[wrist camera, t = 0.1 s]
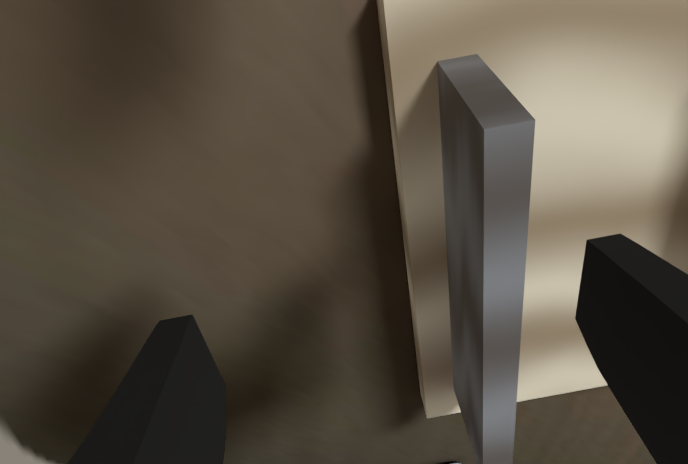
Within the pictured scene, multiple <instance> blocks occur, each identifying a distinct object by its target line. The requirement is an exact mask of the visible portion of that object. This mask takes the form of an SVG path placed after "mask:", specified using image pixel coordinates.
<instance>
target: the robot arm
mask: <svg viewBox="0 0 688 464" xmlns="http://www.w3.org/2000/svg"><path fill="white" fill-rule="evenodd" d="M575 320H576V322H577V324H578V326H579V329H580V331H581V333H582V335H583V338H584V340H585V342H586V345H587V347H588V349H589V351H590V353H591V355H592V357H593V359H594V361H595V364H596V366H597V368H598V369H599V371H600V373H601V374H602V376H603V378H604V379H605V381H606V383H607V384H608V386H609V388H610V389H611V391H612V393H613V394H614V396H615V397H616V399H617V401H618V402H619V404H620V406H621V407H622V409H623V410H624V412H625V414H626V415H627V417H628V418H629V420H630V422H631V423H632V425H633V426H634V428H635V429H636V431H637V433H638V434H639V436H640V437H641V439H642V441H643V442H644V444H645V445H646V447H647V449H648V450H649V452H650V453H651V455H652V457H653V458H654V460H655V461H656V463H657V464H688V274H686V273H685V272H683V271H682V270H680V269H678V268H677V267H675V266H673V265H672V264H670V263H669V262H667V261H665V260H664V259H662V258H661V257H659V256H657V255H656V254H654V253H652V252H651V251H649V250H648V249H646V248H644V247H643V246H641V245H639V244H638V243H636V242H634V241H633V240H631V239H629V238H627V237H626V236H624V235H622V234H621V233H620V234H615V235H609V236H604V237H599V238H594V239H588V240H587V241H586V247H585V254H584V261H583V268H582V275H581V282H580V288H579V295H578V302H577V309H576V316H575ZM225 439H226V400H225V383H224V381H223V379H222V376H221V374H220V372H219V370H218V368H217V366H216V364H215V362H214V359H213V357H212V355H211V353H210V351H209V349H208V347H207V345H206V342H205V340H204V338H203V336H202V334H201V332H200V330H199V328H198V325H197V323H196V321H195V319H194V317H193V315H188V316H182V317H177V318H172V319H166V320H161V321H159V322H158V324H157V325H156V327H155V328H154V330H153V331H152V333H151V335H150V336H149V338H148V339H147V341H146V343H145V344H144V346H143V348H142V349H141V351H140V353H139V354H138V356H137V357H136V359H135V361H134V362H133V364H132V366H131V367H130V369H129V371H128V372H127V374H126V375H125V377H124V379H123V380H122V382H121V384H120V385H119V387H118V388H117V390H116V392H115V393H114V395H113V396H112V398H111V399H110V401H109V402H108V404H107V406H106V407H105V409H104V410H103V412H102V413H101V415H100V416H99V418H98V420H97V421H96V423H95V424H94V426H93V427H92V429H91V430H90V432H89V433H88V435H87V436H86V438H85V439H84V441H83V442H82V444H81V445H80V446H79V448H78V449H77V451H76V452H75V454H74V455H73V456H72V458H71V459H70V461H69V462H68V464H223V459H224V450H225ZM451 464H460V463H451Z"/></svg>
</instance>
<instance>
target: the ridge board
mask: <svg viewBox="0 0 688 464" xmlns="http://www.w3.org/2000/svg"><path fill="white" fill-rule="evenodd" d="M377 8H378V17H379V26H380V35H381V44H382V53H383V62H384V71H385V80H386V89H387V97H388V106H389V115H390V124H391V133H392V142H393V151H394V160H395V169H396V178H397V187H398V196H399V205H400V214H401V223H402V232H403V241H404V250H405V259H406V268H407V277H408V286H409V294H410V303H411V312H412V321H413V330H414V339H415V348H416V357H417V366H418V375H419V384H420V393H421V397H422V401H423V405H424V409H425V412H426V416H427V418H432V417H438V416H443V415H449V414H454V413H459V412H461V414H462V417H463V420H464V423H465V426H466V429H467V432H468V435H469V439H470V442H471V445H472V448H473V451H474V454H475V457H476V460H477V463H478V464H512V463H513V448H514V433H515V418H516V403H517V402H519V401H525V400H530V399H535V398H541V397H546V396H552V395H557V394H562V393H568V392H573V391H579V390H584V389H590V388H595V387H600V386H606V385H608V384H607V383H606V381H605V379H604V378H603V376H602V374H601V373H600V371H599V369H598V368H597V366H596V364H595V361H594V359H593V357H592V355H591V353H590V351H589V349H588V347H587V345H586V342H585V340H584V338H583V335H582V333H581V331H580V329H579V326H578V324H577V322H576V320H575V316H576V309H577V302H578V295H579V288H580V282H581V275H582V268H583V261H584V254H585V247H586V241H587V240H588V239H594V238H599V237H604V236H609V235H615V234H620V233H621V234H622V235H624V236H626V237H627V238H629V239H631V240H633V241H634V242H636V243H638V244H639V245H641V246H643V247H644V248H646V249H648V250H649V251H651V252H652V253H654V254H656V255H657V256H659V257H661V258H662V259H664V260H665V261H667V262H669V263H670V264H672V265H673V266H675V267H677V268H678V269H680V270H682V271H683V272H685V273H686V274H688V0H377Z"/></svg>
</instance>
